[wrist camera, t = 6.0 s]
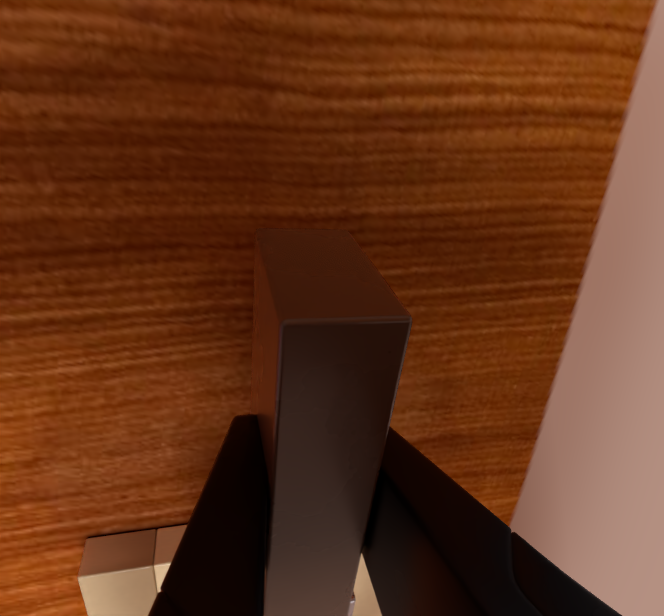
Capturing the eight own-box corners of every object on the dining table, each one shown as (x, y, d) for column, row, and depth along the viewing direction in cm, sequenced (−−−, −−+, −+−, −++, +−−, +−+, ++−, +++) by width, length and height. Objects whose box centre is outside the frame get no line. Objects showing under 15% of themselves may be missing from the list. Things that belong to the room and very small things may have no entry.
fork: (413, 229, 8) (506, 314, 6) (329, 655, 15) (353, 775, 13) (176, 224, 7) (161, 325, 5) (204, 683, 14) (205, 819, 12)
